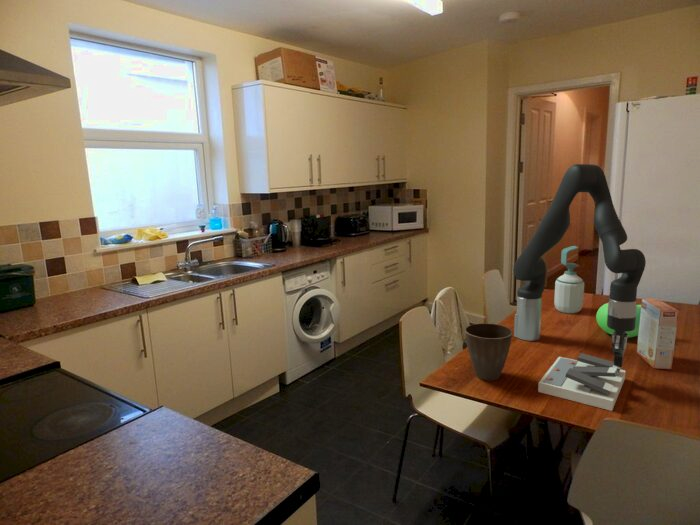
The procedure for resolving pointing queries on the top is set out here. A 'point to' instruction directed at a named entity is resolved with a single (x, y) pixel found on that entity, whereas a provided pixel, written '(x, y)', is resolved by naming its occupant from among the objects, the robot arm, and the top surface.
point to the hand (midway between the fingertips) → (618, 366)
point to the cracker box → (657, 333)
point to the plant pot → (488, 348)
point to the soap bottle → (569, 287)
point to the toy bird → (602, 322)
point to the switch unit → (579, 385)
